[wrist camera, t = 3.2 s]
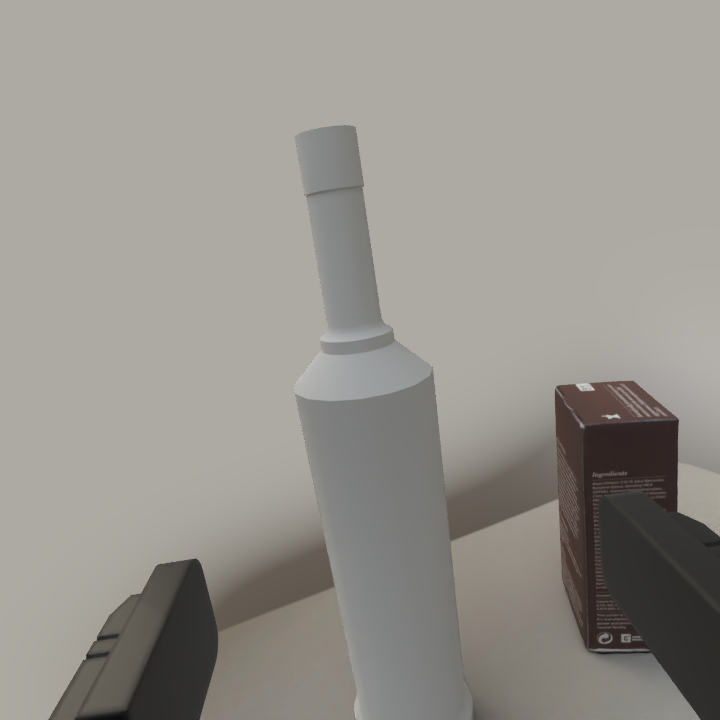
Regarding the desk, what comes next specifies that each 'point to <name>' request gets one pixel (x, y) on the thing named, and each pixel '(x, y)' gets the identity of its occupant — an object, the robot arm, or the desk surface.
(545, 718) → the desk surface
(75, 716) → the robot arm
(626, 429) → the box
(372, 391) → the bottle
